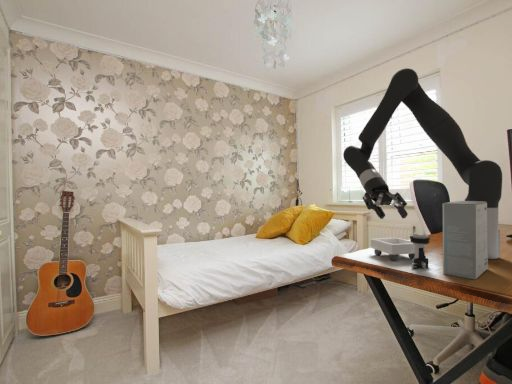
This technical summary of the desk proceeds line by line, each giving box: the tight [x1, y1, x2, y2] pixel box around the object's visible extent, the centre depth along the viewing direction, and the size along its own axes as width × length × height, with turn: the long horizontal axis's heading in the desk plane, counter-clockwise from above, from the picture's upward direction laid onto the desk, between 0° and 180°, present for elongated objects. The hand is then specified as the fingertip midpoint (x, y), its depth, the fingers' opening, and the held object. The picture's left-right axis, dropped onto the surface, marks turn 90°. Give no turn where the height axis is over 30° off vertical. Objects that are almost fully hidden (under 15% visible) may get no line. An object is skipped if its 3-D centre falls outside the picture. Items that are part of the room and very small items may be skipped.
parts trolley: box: [370, 237, 415, 262], centre depth 96 cm, size 11×11×6 cm
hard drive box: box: [442, 200, 489, 280], centre depth 79 cm, size 16×8×20 cm, turn 131°
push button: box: [409, 232, 431, 270], centre depth 83 cm, size 7×5×10 cm
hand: (394, 217), depth 93 cm, fingers open, 8 cm apart
